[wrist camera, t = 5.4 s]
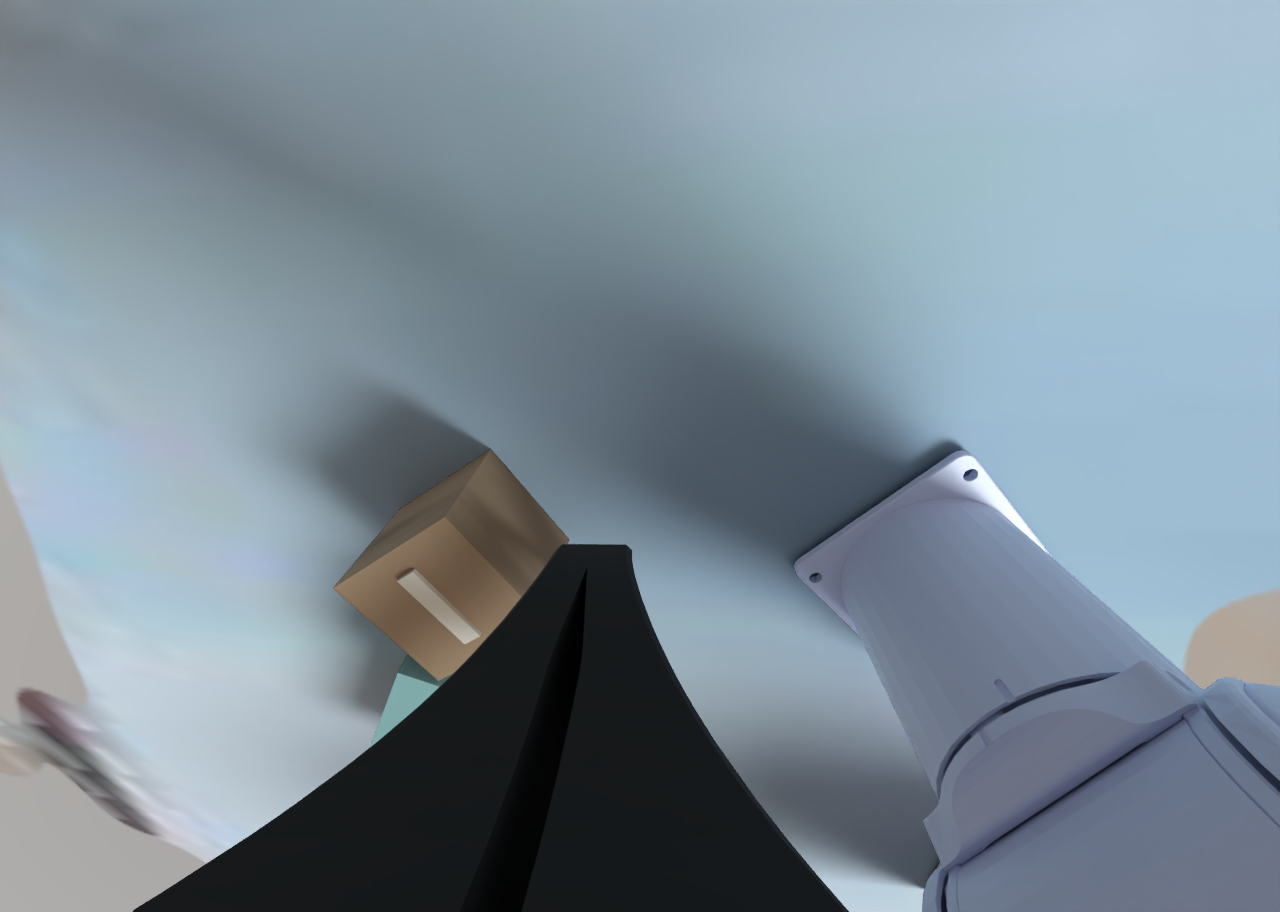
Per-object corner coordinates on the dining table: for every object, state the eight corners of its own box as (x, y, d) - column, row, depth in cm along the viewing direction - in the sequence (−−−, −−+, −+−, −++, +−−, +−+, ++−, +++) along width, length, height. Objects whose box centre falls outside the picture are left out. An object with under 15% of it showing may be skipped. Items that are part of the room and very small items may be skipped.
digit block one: (569, 538, 22) (546, 627, 17) (480, 588, 23) (437, 684, 18) (491, 448, 20) (442, 519, 15) (400, 508, 21) (330, 591, 17)
